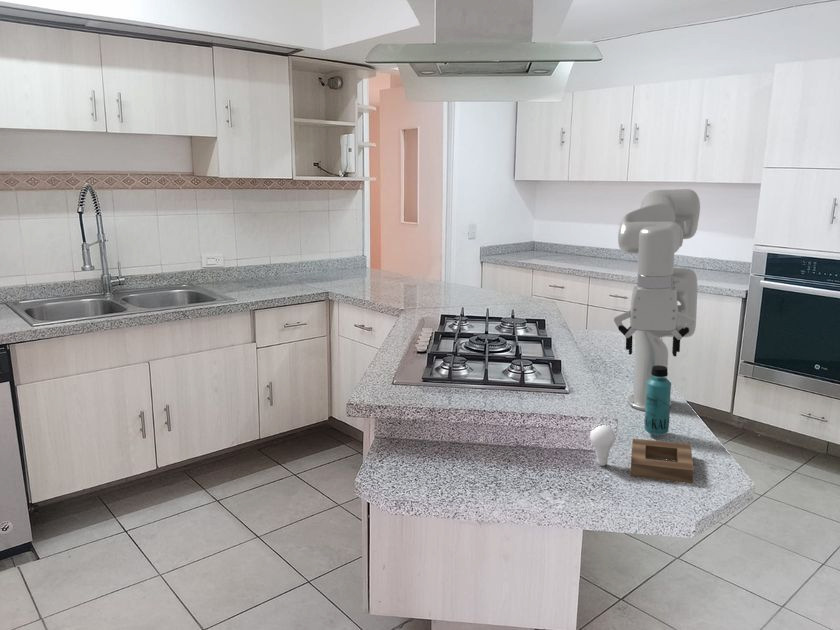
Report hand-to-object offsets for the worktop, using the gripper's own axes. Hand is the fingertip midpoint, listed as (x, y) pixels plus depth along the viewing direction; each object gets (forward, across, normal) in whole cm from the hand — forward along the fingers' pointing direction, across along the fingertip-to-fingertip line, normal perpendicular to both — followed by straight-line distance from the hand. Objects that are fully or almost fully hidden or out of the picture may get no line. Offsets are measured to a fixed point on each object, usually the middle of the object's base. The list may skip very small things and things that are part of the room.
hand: (652, 353), depth 148 cm
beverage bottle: (+31, -3, -23) cm, 39 cm away
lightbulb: (+31, +11, -3) cm, 33 cm away
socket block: (+31, -3, -5) cm, 32 cm away
